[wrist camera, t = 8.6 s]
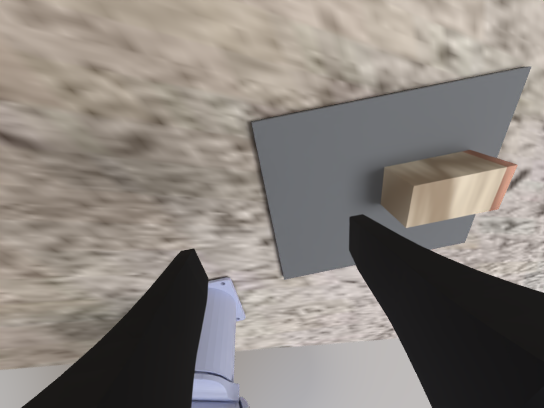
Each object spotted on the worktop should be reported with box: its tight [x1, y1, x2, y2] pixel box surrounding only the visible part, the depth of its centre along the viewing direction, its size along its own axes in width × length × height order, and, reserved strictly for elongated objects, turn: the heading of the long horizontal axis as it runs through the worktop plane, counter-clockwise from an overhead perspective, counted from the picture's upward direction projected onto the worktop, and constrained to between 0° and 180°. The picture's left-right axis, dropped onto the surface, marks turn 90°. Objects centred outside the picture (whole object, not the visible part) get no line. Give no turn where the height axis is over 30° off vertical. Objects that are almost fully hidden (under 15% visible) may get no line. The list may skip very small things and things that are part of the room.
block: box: [381, 150, 517, 228], centre depth 19 cm, size 4×4×8 cm
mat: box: [251, 67, 531, 280], centre depth 21 cm, size 22×18×1 cm
